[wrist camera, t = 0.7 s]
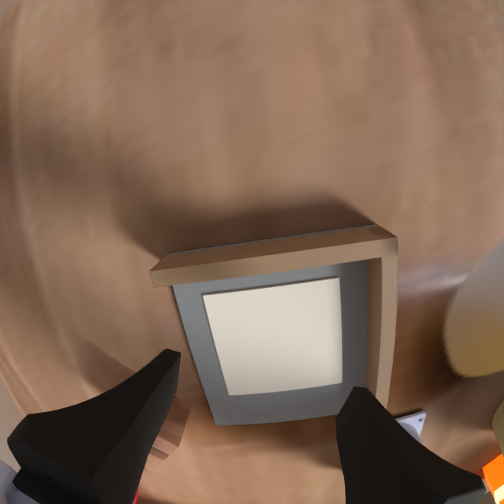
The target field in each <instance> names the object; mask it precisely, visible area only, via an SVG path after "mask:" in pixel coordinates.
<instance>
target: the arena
mask: <svg viewBox="0 0 504 504" xmlns="http://www.w3.org/2000/svg"><path fill="white" fill-rule="evenodd" d="M149 274H150V277H151V281H152V285H153V288H154V287H163V286H172V285H173V289H174V293H175V296H176V300H177V304H178V308H179V311H180V315H181V318H182V322H183V325H184V329H185V332H186V335H187V339H188V342H189V345H190V349H191V352H192V355H193V358H194V361H195V365H196V368H197V371H198V374H199V377H200V380H201V383H202V386H203V389H204V392H205V395H206V398H207V400H208V403H209V406H210V409H211V412H212V414H213V417H214V420H215V423H216V425H245V424H261V423H274V422H284V421H294V420H302V419H310V418H317V417H323V416H330V415H336V414H339V412H340V410H341V408H342V407H343V405H344V403H345V401H346V400H347V398H348V396H349V394H350V392H351V391H352V389H353V387H354V386H357V387H366V388H367V389H368V390H369V391H370V392H371V393H372V394H373V395H374V396H375V397H376V398H377V399H378V400H379V402H380V403H381V404H382V405H383V406H384V407H385V408H386V407H387V401H388V395H389V388H390V380H391V372H392V364H393V354H394V344H395V331H396V315H397V291H398V243H397V237H396V236H395V235H393V234H392V233H390V232H388V231H387V230H385V229H384V228H382V227H380V226H379V225H377V224H373V225H366V226H358V227H351V228H343V229H336V230H328V231H321V232H314V233H306V234H299V235H292V236H285V237H278V238H270V239H263V240H256V241H249V242H242V243H235V244H228V245H221V246H215V247H208V248H201V249H194V250H187V251H181V252H174V253H168V254H167V255H166V256H165V257H164V258H163V259H162V260H160V261H159V262H158V263H157V264H156V265H155V266H154V267H153V268H152V269H151V270H150V271H149Z"/></svg>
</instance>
